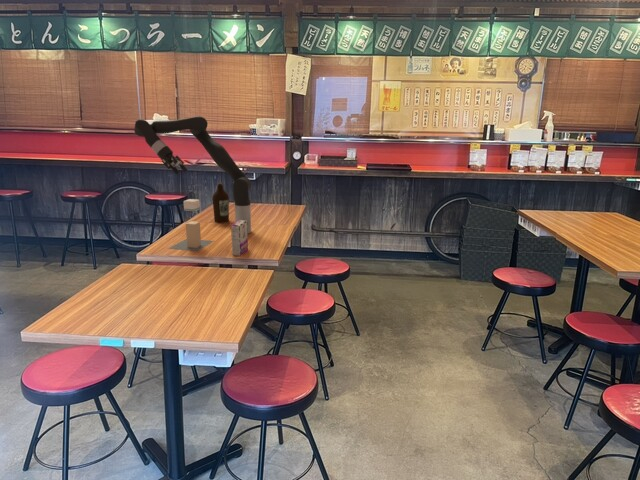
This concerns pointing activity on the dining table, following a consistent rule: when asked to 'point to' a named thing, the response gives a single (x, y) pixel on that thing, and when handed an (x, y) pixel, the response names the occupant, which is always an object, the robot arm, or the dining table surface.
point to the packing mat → (183, 246)
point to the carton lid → (191, 205)
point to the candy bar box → (239, 237)
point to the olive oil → (221, 205)
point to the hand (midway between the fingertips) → (182, 172)
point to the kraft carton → (193, 234)
